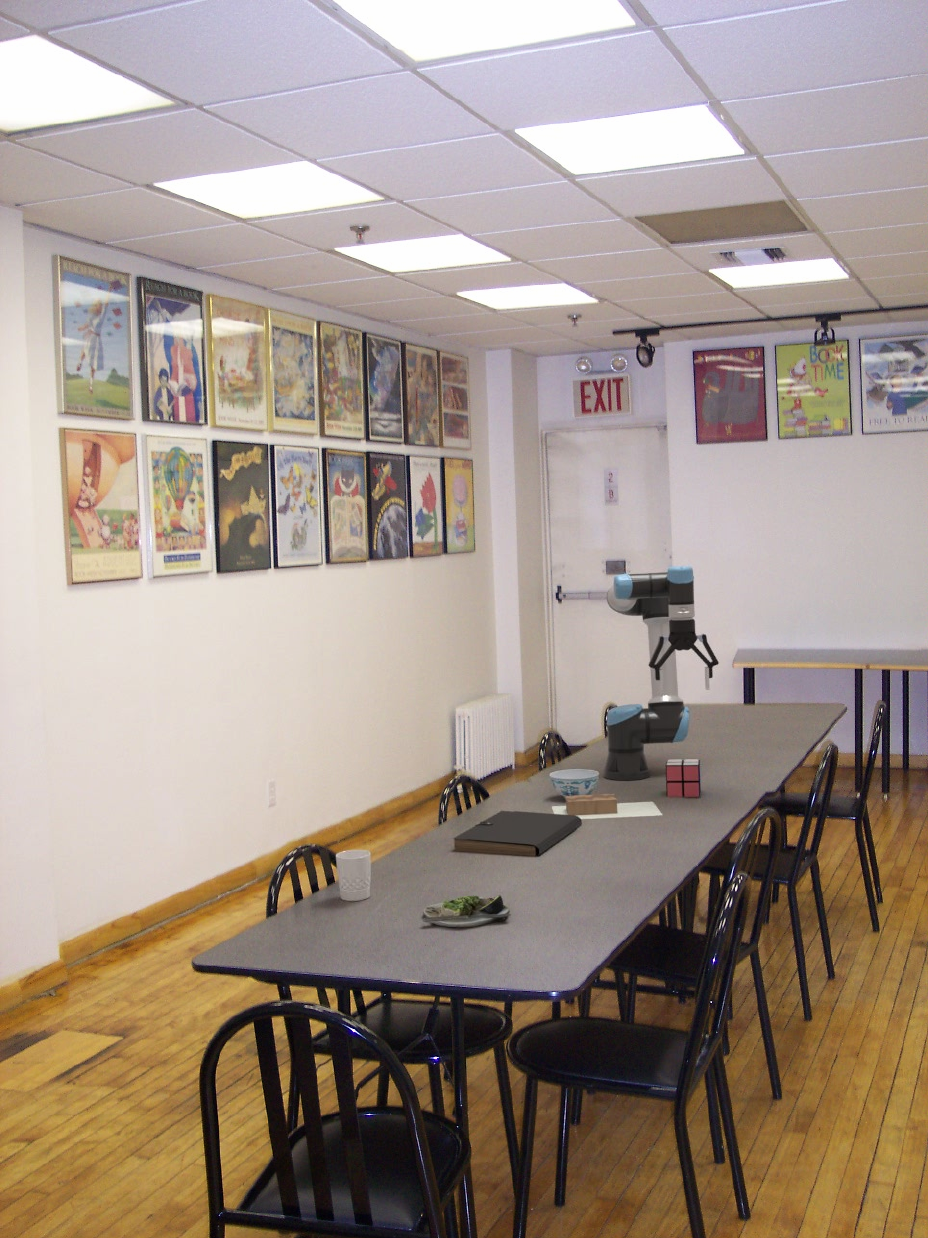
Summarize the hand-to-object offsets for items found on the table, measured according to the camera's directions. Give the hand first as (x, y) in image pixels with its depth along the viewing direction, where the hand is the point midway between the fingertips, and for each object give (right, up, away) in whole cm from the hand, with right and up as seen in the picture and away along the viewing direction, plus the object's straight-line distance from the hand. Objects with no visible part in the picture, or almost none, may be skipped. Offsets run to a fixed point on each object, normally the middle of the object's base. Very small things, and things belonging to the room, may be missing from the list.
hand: (684, 690), depth 362 cm
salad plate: (-64, -43, -100) cm, 126 cm away
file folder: (-50, -38, -34) cm, 72 cm away
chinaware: (-31, -34, +12) cm, 48 cm away
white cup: (-90, -43, -82) cm, 129 cm away
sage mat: (-24, -35, -8) cm, 43 cm away
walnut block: (-21, -32, -8) cm, 40 cm away
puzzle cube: (+2, -33, +11) cm, 34 cm away
